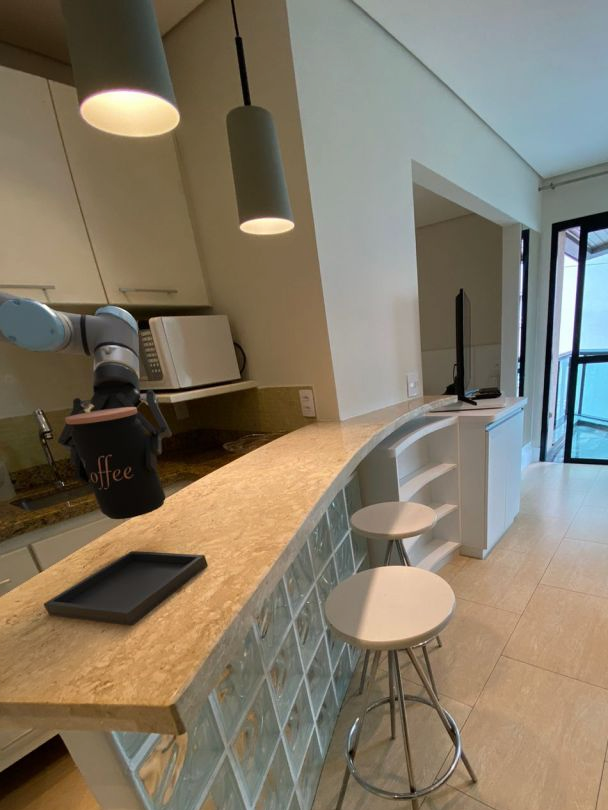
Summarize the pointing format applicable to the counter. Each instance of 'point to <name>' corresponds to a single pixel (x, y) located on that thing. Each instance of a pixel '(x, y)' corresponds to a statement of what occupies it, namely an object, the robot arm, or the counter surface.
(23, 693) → the counter surface
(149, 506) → the coffee jar
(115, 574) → the black tray
